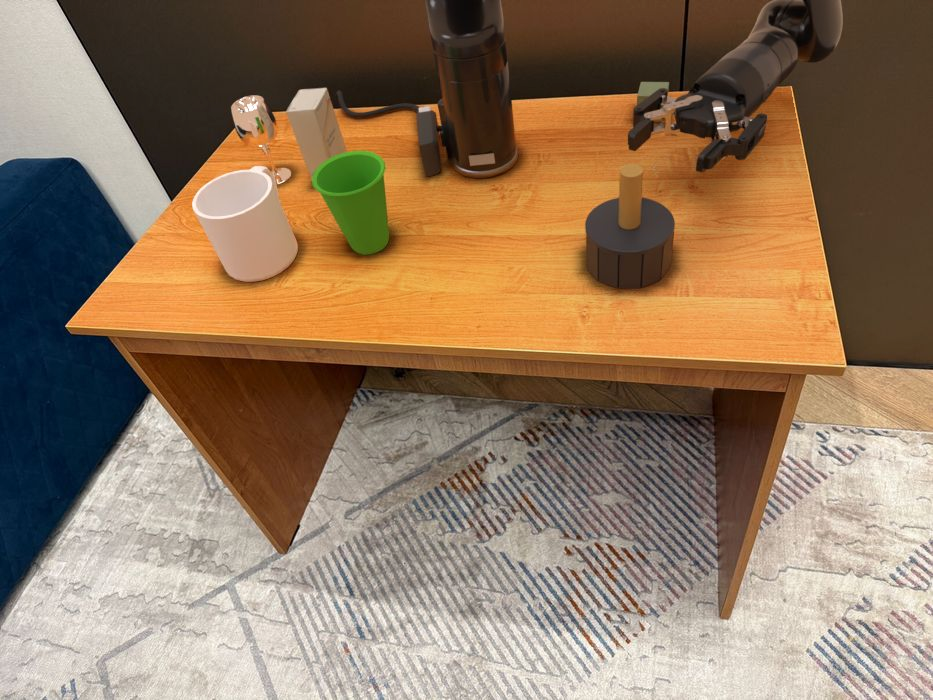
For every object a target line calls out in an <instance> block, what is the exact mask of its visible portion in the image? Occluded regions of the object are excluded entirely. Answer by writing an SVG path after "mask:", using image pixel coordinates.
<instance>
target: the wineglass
mask: <svg viewBox="0 0 933 700" xmlns="http://www.w3.org/2000/svg"><path fill="white" fill-rule="evenodd" d="M230 111H231V117H232V123H233V126H234V129H235V131H236V134H237V136H238V137H239V139H240V140H241V142H242V143H243V144H245V145H246V146H248V147H250V148H257V149H258V148H261V149H262V153H263V155H264V156H265V157H266V158H267V160H268V162H269V165H270V167H271V170H270V172H271V173H272V175H273V177H274V179H275V182H276V185H277V186H278V185H281V184H284V183H286V182H287V181H288V180H289V179H290V178H291V176H292V171H291V169H290V168H287V167H276V166H275V165H274V161H273V159H272V154H271V150H270V148H269V147H270V146H269V145H270V144H272V143H273V142H274V141H275V140H276V138H277V136H278V132H279V126H278V122H277V119H276V117H275V115H274V113H273V111H272V109H271V108H270V106H269V105H268V103H267V101H266V100H265V99H264V97H263V96H260V95H257V94H256V95H254V94H253V95H247V96H244V97H240V98H239V99H237V100H236V101H234V102H233V103H232V105H231V106H230Z"/></svg>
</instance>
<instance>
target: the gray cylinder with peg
mask: <svg viewBox="0 0 933 700" xmlns="http://www.w3.org/2000/svg"><path fill="white" fill-rule="evenodd" d="M643 182H644V168H643V167H642V166H641V165H639V164H637V163H627V164H624V165H622V166H621V167H620V169H619V184H618V185H619V186H618V188H619V189H618V191H619V193H618V197H614V198H612V199H608V200H605V201H603V202H601V203H599V204H598V205H597V206H595V207H594V208H593V209H591V211H590V212H589V213H588V215H587V217H586V218H585V224H584V229H585V245H586V246H585V248H586V250H585V251H586V253H585V255H586V270H587V271H588V272H589V273H590V274H591V276H592V277H593V278H594V279H595V280H596V281H597V282H598V283H601V284H603V285H606V286H608V287H612V288H615V289H619V290H626V289H628V290H629V289H641V288H642V289H643V288H645V287H647V286H650V285H652V284H655V283H657V282H659V281H661V280H662V279H663V277H664V276H665V275H666V274H667V272H668V271H669V270H670V268H671V266H672V256H673V247H674V236H675V226H676V223H675V222H676V221H675V218H674V216H673V214H672V212H671V211H670V209H669V208H667V207H666V206H665V205H663V204H662V203H660V202H658V201H656V200H653V199H651V198H646V197H643Z"/></svg>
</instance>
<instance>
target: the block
mask: <svg viewBox="0 0 933 700" xmlns="http://www.w3.org/2000/svg"><path fill="white" fill-rule="evenodd" d="M660 88H666V89H667V90H668V93H667V96H669V91H670V82H669V81H640V84H639V88H638V92H637V95H636V106H637V105H638V104H640V103H641V102H642V101H644V100H645V99H646V98H648V97H649V96H650V95H652V94H653V93H654V92H656V91H657V90H658V89H660ZM656 122H657V123H661V119H657V120H654V123H656Z"/></svg>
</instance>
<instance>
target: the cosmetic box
mask: <svg viewBox="0 0 933 700" xmlns="http://www.w3.org/2000/svg"><path fill="white" fill-rule="evenodd" d="M285 113H286V116H287V118H288V121H289V123H290V126H291V129H292V132H293V134H294V138H295V140H296V143H297V145H298V148H299V151H300V154H301V156H302V159H303V161H304V164H305V167H306V170H307V172H308V175H309V178H310V180H311V181H312V177H313V174H314V172H315V170H316V169H317V168H318V166H320V165H321V164H322V163H323V162H324V161H326V160H328V159H329V158H331V157H334V156H336V155H338V154H342V153H345V152H348V149H347V147H346V144H345V140H344V137H343V134H342V131H341V127H340V124H339V121H338V119H337V115H336V112H335V109H334V106H333V102H332V100H331V97H330V94H329V89H328V88H327V87H318V88H316V87H315V88H303V89H299V90H298V91H297V93H296V94H295V96H294V97H293V99H292V101H291V102H290V104H289V105H288V107H287V109H286V111H285Z"/></svg>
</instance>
